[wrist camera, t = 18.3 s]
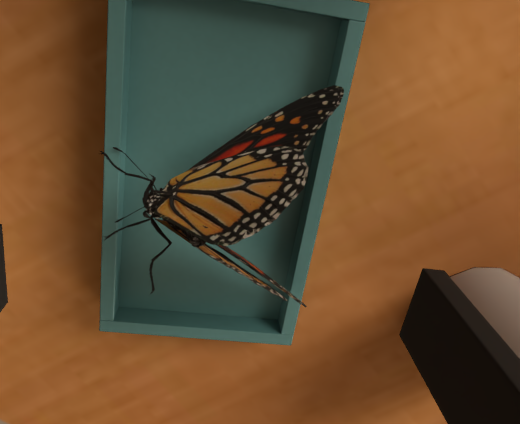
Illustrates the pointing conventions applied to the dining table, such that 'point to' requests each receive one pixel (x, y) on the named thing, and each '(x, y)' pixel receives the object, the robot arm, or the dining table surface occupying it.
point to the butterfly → (240, 184)
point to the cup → (495, 300)
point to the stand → (204, 143)
